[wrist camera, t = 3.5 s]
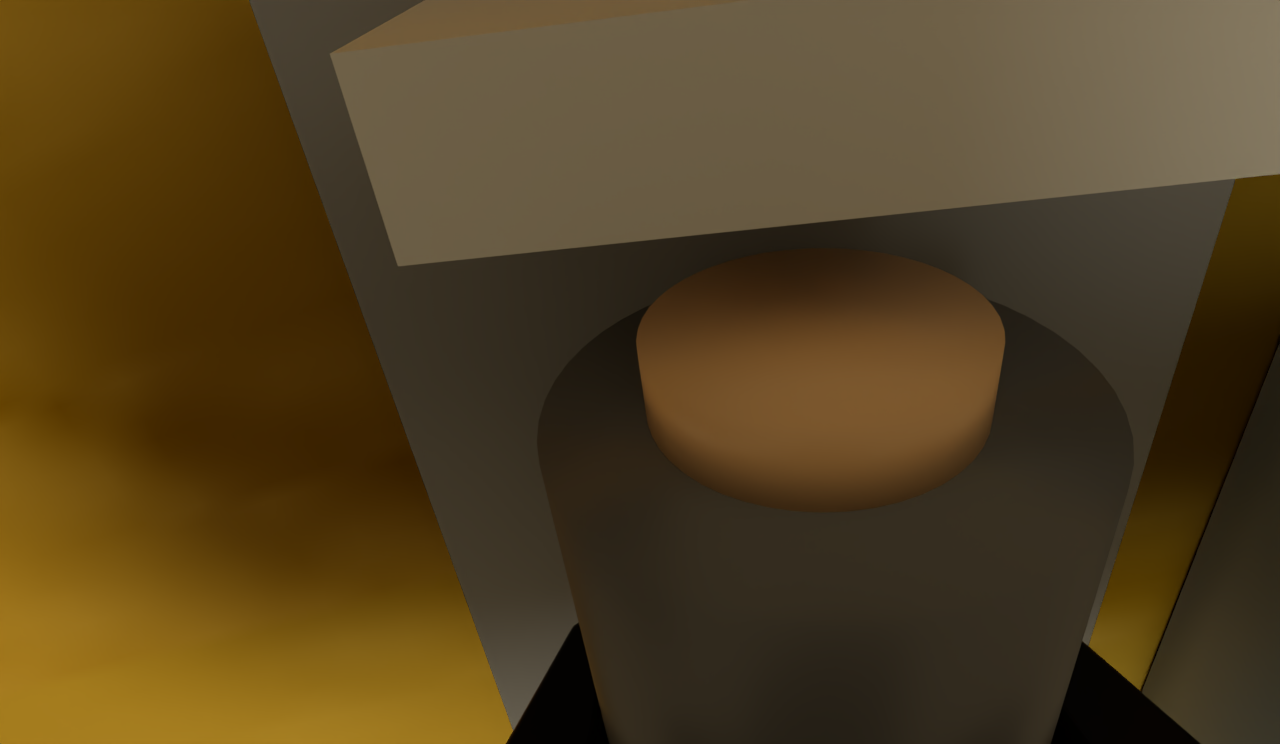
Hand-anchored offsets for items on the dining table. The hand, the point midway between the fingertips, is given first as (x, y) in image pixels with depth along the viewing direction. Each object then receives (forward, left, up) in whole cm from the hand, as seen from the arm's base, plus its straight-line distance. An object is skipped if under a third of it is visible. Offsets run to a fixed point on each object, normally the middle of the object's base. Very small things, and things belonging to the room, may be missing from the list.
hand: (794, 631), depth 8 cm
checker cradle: (0, 0, -2) cm, 2 cm away
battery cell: (0, 0, -1) cm, 1 cm away
